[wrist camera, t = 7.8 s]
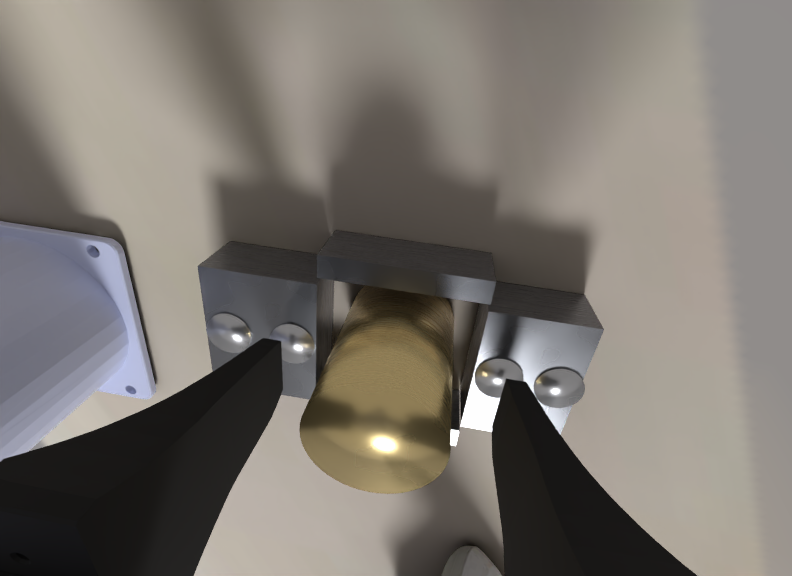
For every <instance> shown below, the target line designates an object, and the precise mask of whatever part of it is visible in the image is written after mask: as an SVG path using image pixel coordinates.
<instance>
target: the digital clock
mask: <svg viewBox="0 0 792 576" xmlns="http://www.w3.org/2000/svg"><path fill="white" fill-rule="evenodd" d="M442 576H502V575H501V573H500V572H499V570H498V569H497V568H496V566H495V565H494V564H493V563H492V562H491V561H490V559H489V558H488V557H487V556H486V555H485V554H484V553H483V552H482V551H481V550H480V549H479V548H478V547H475V546H463V547H460V548H459V549H457V550H456V551H455V552H454V553H453V554H452V555H451V556H450V557H449V559H448V561H447V562H446V565H445V568H444V570H443V573H442Z"/></svg>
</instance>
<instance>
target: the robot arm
mask: <svg viewBox="0 0 792 576" xmlns="http://www.w3.org/2000/svg"><path fill="white" fill-rule="evenodd" d="M94 246H95V247H96V248H97V249H98V250H99V252H100V253H99V252H98V251H97V250H96V249H95V247H94ZM95 391H101V392H107V393H112V394H118V395H123V396H129V397H134V398H140V399H149V398H151V397H152V396H153V395H154V394H155V392H156V386H155V381H154V377H153V373H152V369H151V364H150V360H149V356H148V352H147V347H146V343H145V339H144V334H143V330H142V326H141V322H140V317H139V313H138V309H137V305H136V300H135V296H134V292H133V287H132V283H131V279H130V275H129V270H128V266H127V262H126V258H125V253H124V250H123V248H122V246H121V245H120V244H119V243H118V242H117V241H115V240H114V239H111V238H107V237H100V236H94V235H87V234H81V233H74V232H68V231H61V230H55V229H48V228H42V227H35V226H29V225H22V224H16V223H9V222H3V221H0V576H194V573H195V571H196V568H197V566H198V563H199V561H200V558H201V556H202V553H203V551H204V549H205V546H206V544H207V542H208V539H209V537H210V535H211V532H212V530H213V528H214V525H215V523H216V521H217V519H218V516H219V514H220V512H221V510H222V508H223V505H224V503H225V501H226V499H227V496H228V494H229V492H230V490H231V488H232V486H233V484H234V482H235V481H236V479H237V477H238V475H239V473H240V472H241V470H242V468H243V466H244V465H245V463H246V461H247V459H248V458H249V456H250V454H251V453H252V451H253V449H254V447H255V446H256V444H257V442H258V440H259V439H260V437H261V435H262V433H263V432H264V430H265V428H266V426H267V425H268V423H269V421H270V419H271V417H272V415H273V413H274V410H275V408H276V406H277V403H278V401H279V398H280V396H281V393H282V391H283V373H282V348H281V341H279V340H273V339H267V338H262V339H261V340H259V341H258V342H256V343H255V344H253V345H252V346H250V347H249V348H247V349H246V350H244V351H243V352H241V353H240V354H239V355H237V356H236V357H234V358H233V359H231V360H230V361H228V362H227V363H225V364H224V365H222V366H221V367H219V368H218V369H216V370H215V371H213V372H212V373H210V374H208V375H207V376H205V377H203V378H202V379H200V380H198V381H197V382H195V383H193V384H192V385H190V386H188V387H187V388H185V389H183V390H182V391H180V392H178V393H176V394H174V395H172V396H170V397H169V398H167V399H165V400H163V401H161V402H159V403H157V404H155V405H153V406H151V407H149V408H146V409H144V410H142V411H140V412H138V413H135V414H133V415H131V416H128V417H126V418H124V419H121V420H119V421H117V422H114V423H112V424H110V425H107V426H104V427H102V428H99V429H97V430H94V431H91V432H88V433H86V434H83V435H80V436H77V437H74V438H71V439H68V440H65V441H62V442H59V443H56V444H53V445H50V446H46V447H43V448H40V449H36V450H33V451H29V450H30V449H31V448H32V447H34V446H35V445H36V444H37V443H38V442H39V441H40V440H41V439H43V438H44V437H45V436H46V435H47V434H48V433H49V432H50V431H52V430H53V429H54V428H55V427H56V426H57V425H58V424H59V423H61V422H62V421H63V420H64V419H65V418H66V417H67V416H68V415H70V414H71V413H72V412H73V411H74V410H75V409H76V408H77V407H79V406H80V405H81V404H82V403H83V402H84V401H85V400H86V399H88V398H89V397H90V396H91V395H92V394H93V393H94V392H95ZM28 451H29V452H28ZM492 458H493V466H494V474H495V481H496V489H497V496H498V503H499V511H500V518H501V525H502V534H503V544H504V567H505V576H697V575H696V574H695V573H693V572H692V571H691V570H689V569H688V568H687V567H686V566H684V565H683V564H682V563H681V562H680V561H678V560H677V559H676V558H675V557H674V556H673V555H671V554H670V553H669V552H668V551H667V550H666V549H665V548H663V547H662V546H661V545H660V544H659V543H658V542H657V541H655V540H654V539H653V538H652V537H651V536H650V535H649V534H648V533H647V532H646V531H645V530H643V529H642V528H641V527H640V526H639V525H638V524H637V523H636V522H635V521H634V520H633V519H632V518H631V517H630V516H629V515H628V514H627V513H626V512H625V511H624V510H623V509H622V508H621V507H620V506H619V505H618V504H617V503H616V502H615V501H614V500H613V499H612V498H611V497H610V496H609V495H608V493H607V492H606V491H605V490H604V489H603V488H602V487H601V486H600V484H599V483H598V482H597V481H596V480H595V479H594V478H593V477H592V475H591V474H590V473H589V472H588V471H587V470H586V468H585V467H584V466H583V465H582V463H581V462H580V461H579V459H578V458H577V457H576V456H575V454H574V453H573V452H572V450H571V449H570V448H569V446H568V445H567V443H566V442H565V441H564V439H563V438H562V436H561V435H560V434H559V432H558V431H557V429H556V428H555V426H554V425H553V423H552V422H551V420H550V419H549V417H548V416H547V414H546V413H545V411H544V409H543V408H542V406H541V405H540V403H539V402H538V400H537V398H536V397H535V395H534V393H533V392H532V390H531V389H530V387H529V385H528V384H527V383H526V382H524V381H518V380H512V379H506V380H505V384H504V387H503V390H502V394H501V397H500V400H499V404H498V407H497V411H496V414H495V417H494V421H493V424H492Z"/></svg>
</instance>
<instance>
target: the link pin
mask: <svg viewBox="0 0 792 576" xmlns="http://www.w3.org/2000/svg"><path fill="white" fill-rule="evenodd" d="M453 335H454V316H453V311H452V308H451V306H450V303H449V302H448V300H447V298H444V297H438V296H431V295H425V294H418V293H412V292H406V291H399V290H393V289H386V288H380V287H373V286H367V285H365V286H364V287H363V288H362V289H361V290H360V291H359V293H358V294H357V296H356V298H355V300H354V302H353V304H352V307H351V309H350V311H349V313H348V315H347V318H346V320H345V322H344V324H343V327H342V329H341V331H340V333H339V335H338V338H337V340H336V342H335V344H334V347H333V349H332V351H331V353H330V355H329V358H328V360H327V362H326V364H325V367H324V369H323V371H322V373H321V375H320V378H319V380H318V382H317V384H316V387H315V389H314V391H313V393H312V395H311V398H310V400H309V402H308V404H307V406H306V409H305V411H304V413H303V415H302V418H301V422H300V438H301V441H302V444H303V447H304V449H305V451H306V453H307V454H308V456H309V457H310V458H311V460H312V461H313V462H314V463H315V464H316V465H317V466H318V467H319V468H320V469H321V470H322V471H324V472H325V473H326V474H327V475H329V476H330V477H332V478H334V479H335V480H337V481H339V482H341V483H343V484H345V485H348V486H350V487H353V488H356V489H359V490H363V491H368V492H374V493H385V494H390V493H403V492H408V491H412V490H415V489H418V488H421V487H423V486H425V485H427V484H429V483H430V482H432V481H433V480H435V479H436V478H437V477H438V476H439V475H440V474H441V473H442V472H443V470H444V469H445V467H446V465H447V463H448V460H449V457H450V447H451V410H452V373H453Z"/></svg>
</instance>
